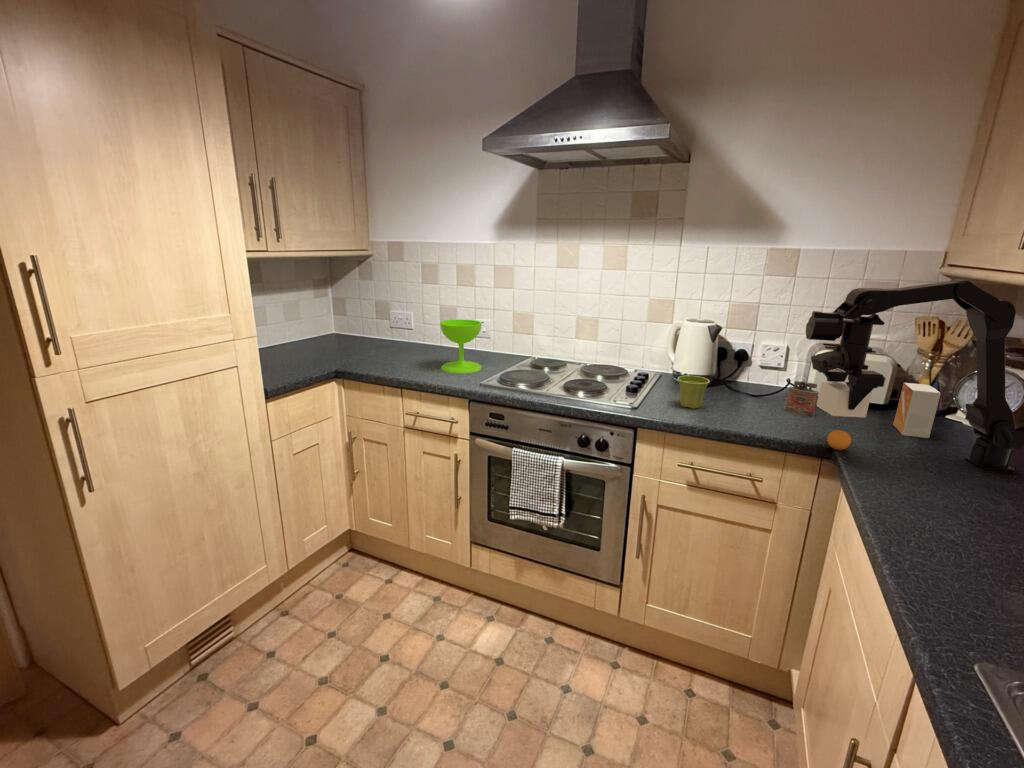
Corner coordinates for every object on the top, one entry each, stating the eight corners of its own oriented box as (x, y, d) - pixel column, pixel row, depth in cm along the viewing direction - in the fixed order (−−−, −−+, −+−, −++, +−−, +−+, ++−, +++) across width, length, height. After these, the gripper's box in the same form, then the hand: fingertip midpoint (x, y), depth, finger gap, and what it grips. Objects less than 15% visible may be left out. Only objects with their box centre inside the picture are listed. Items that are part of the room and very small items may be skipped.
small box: (892, 425, 145) (903, 382, 142) (919, 428, 143) (930, 384, 139) (901, 435, 138) (912, 389, 134) (929, 438, 136) (942, 392, 132)
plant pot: (684, 411, 154) (688, 384, 151) (669, 401, 163) (672, 375, 160) (712, 409, 156) (715, 382, 153) (695, 400, 165) (698, 374, 162)
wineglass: (489, 366, 202) (489, 322, 197) (465, 375, 189) (464, 327, 184) (457, 361, 210) (457, 318, 205) (432, 369, 197) (431, 323, 192)
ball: (819, 439, 130) (835, 448, 131) (829, 447, 125) (846, 456, 126) (832, 423, 129) (848, 432, 129) (843, 430, 124) (859, 440, 124)
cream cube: (847, 407, 129) (853, 382, 127) (865, 417, 121) (872, 391, 119) (816, 405, 129) (821, 380, 127) (832, 415, 122) (838, 389, 120)
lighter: (783, 410, 156) (788, 379, 153) (786, 408, 158) (792, 377, 155) (812, 417, 151) (818, 385, 148) (815, 414, 153) (821, 383, 150)
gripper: (800, 333, 130) (790, 391, 134) (841, 349, 112) (827, 415, 116) (845, 335, 129) (833, 393, 133) (893, 351, 111) (878, 417, 115)
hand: (841, 404), depth 125 cm, fingers closed on cream cube, 8 cm apart
